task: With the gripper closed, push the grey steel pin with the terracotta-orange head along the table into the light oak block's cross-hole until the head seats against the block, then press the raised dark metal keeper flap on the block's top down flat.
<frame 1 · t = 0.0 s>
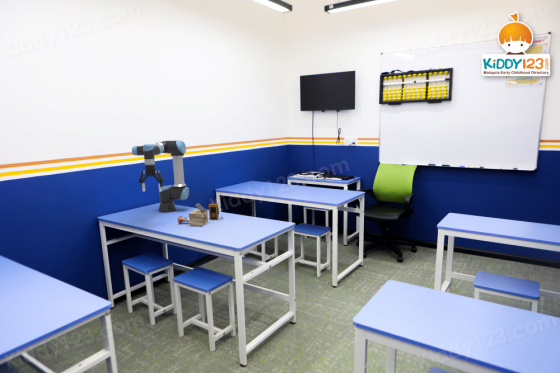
hand: (152, 191, 274), 28 cm above the table, fingers open, 13 cm apart
hitch block: (198, 223, 283), on the table
keeper flap: (200, 207, 280), point 13 cm above the table, hinge at 45.0°
pin: (187, 219, 284), point 3 cm above the table, slide at 0.0 cm
multimeter: (215, 218, 299), on the table
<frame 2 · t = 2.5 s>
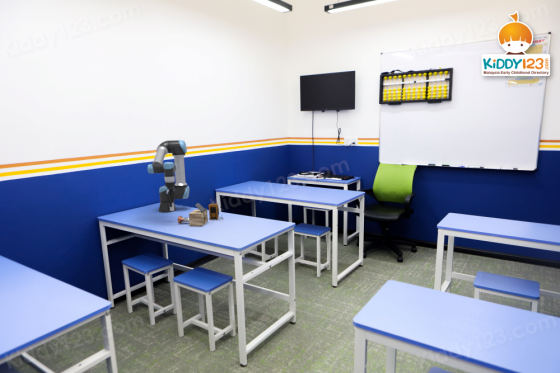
hand: (171, 210, 284), 11 cm above the table, fingers closed
nothing on the table moved.
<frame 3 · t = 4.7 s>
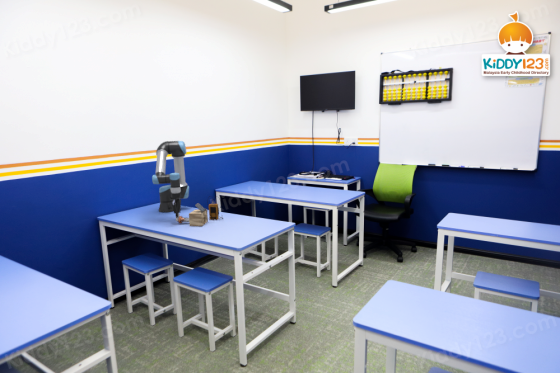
hand: (177, 220, 285), 2 cm above the table, fingers closed
pin: (188, 219, 284), point 3 cm above the table, slide at 0.4 cm, touching gripper
everything else where it was.
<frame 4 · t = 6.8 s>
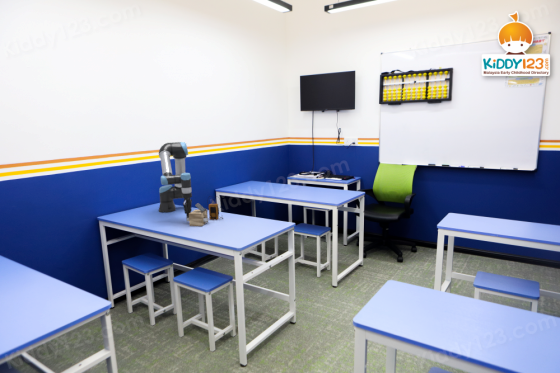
hand: (188, 221, 284), 2 cm above the table, fingers closed
pin: (199, 220, 283), point 3 cm above the table, slide at 9.6 cm, touching gripper
everything else where it was.
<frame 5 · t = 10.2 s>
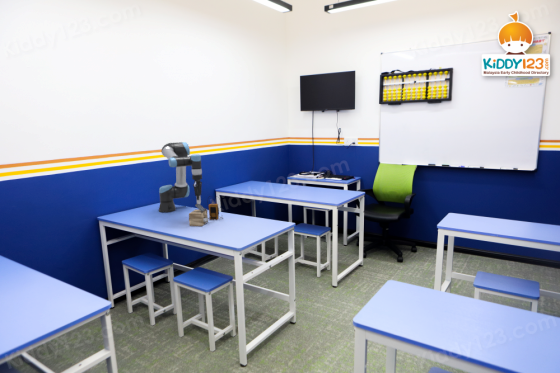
hand: (198, 203, 280), 17 cm above the table, fingers closed
keeper flap: (200, 207, 280), point 13 cm above the table, hinge at 45.0°, touching gripper
pin: (199, 220, 283), point 3 cm above the table, slide at 9.6 cm
everything else where it was.
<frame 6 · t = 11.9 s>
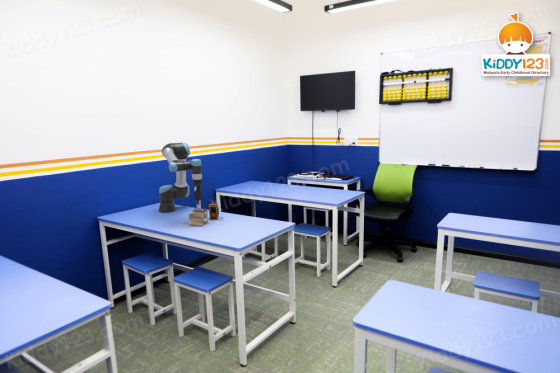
hand: (198, 208, 281), 13 cm above the table, fingers closed
keeper flap: (199, 210, 281), point 11 cm above the table, hinge at 9.5°
everything else where it was.
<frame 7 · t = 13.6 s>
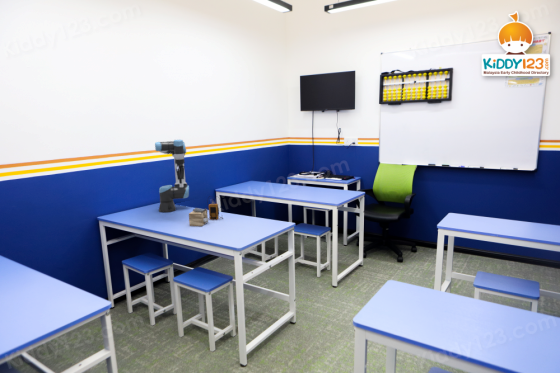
hand: (181, 187, 292), 28 cm above the table, fingers closed
nothing on the table moved.
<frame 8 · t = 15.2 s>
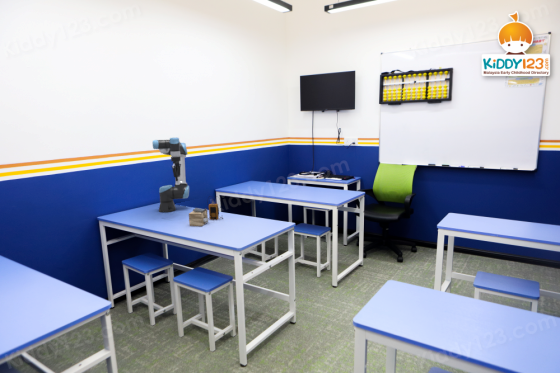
hand: (177, 184, 295), 29 cm above the table, fingers closed
nothing on the table moved.
at the end: pin slide at 9.6 cm; keeper flap at +9° (first picture: +45°); pin touching nothing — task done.
